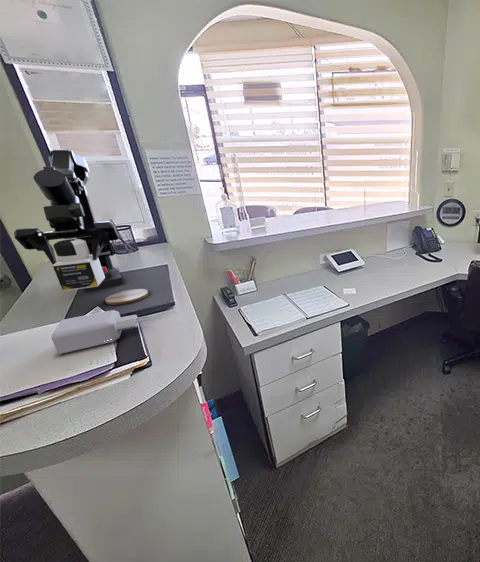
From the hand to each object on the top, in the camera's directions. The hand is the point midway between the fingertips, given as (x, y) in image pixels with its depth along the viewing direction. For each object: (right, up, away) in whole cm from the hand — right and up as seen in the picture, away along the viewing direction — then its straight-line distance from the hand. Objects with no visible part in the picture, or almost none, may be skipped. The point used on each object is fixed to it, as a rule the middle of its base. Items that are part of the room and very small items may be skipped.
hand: (75, 262), depth 78 cm
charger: (+16, -17, -9) cm, 25 cm away
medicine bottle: (-1, -6, +4) cm, 7 cm away
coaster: (+4, -10, +11) cm, 16 cm away
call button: (-12, -2, +21) cm, 25 cm away
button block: (-12, -6, +23) cm, 26 cm away
